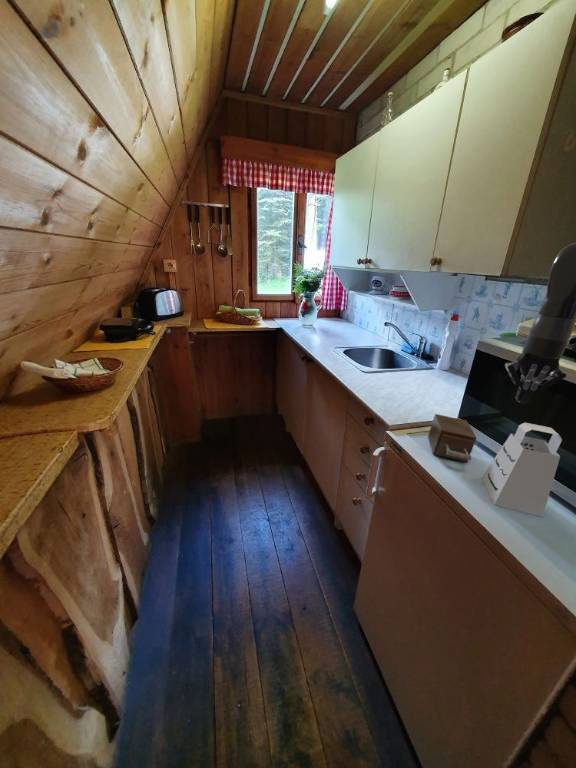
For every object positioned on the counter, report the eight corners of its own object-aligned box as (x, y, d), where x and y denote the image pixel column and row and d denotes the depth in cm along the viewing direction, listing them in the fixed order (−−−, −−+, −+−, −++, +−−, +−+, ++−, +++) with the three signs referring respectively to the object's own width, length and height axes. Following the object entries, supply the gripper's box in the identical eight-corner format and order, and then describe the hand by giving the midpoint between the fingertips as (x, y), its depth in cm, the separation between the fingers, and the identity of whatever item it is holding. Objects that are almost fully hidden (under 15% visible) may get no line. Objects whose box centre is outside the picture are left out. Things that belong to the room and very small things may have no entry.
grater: (481, 478, 84) (508, 414, 77) (523, 488, 82) (555, 423, 75) (494, 504, 75) (526, 434, 68) (542, 516, 73) (581, 445, 65)
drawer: (471, 471, 86) (479, 451, 83) (439, 463, 87) (446, 443, 85) (458, 443, 99) (465, 425, 97) (431, 437, 101) (437, 419, 99)
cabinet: (467, 462, 91) (476, 437, 88) (433, 454, 93) (441, 430, 90) (458, 443, 102) (466, 420, 99) (428, 436, 104) (435, 413, 101)
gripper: (523, 334, 70) (497, 402, 76) (591, 343, 67) (558, 413, 73) (511, 329, 77) (488, 392, 83) (572, 337, 74) (543, 402, 80)
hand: (521, 402), depth 78 cm, fingers closed
